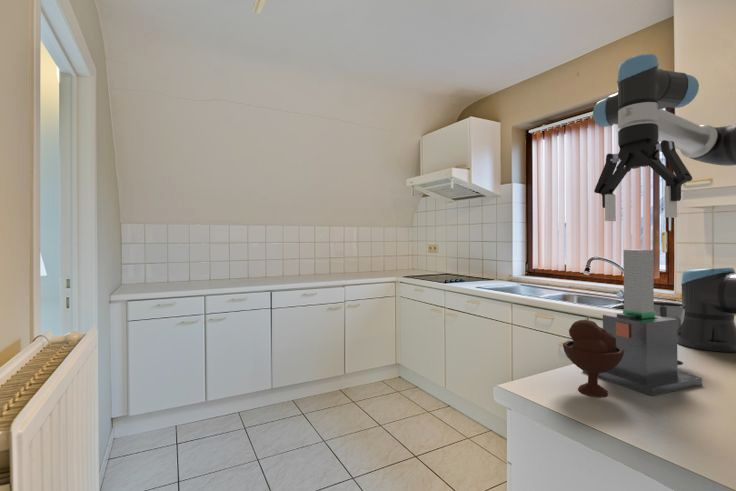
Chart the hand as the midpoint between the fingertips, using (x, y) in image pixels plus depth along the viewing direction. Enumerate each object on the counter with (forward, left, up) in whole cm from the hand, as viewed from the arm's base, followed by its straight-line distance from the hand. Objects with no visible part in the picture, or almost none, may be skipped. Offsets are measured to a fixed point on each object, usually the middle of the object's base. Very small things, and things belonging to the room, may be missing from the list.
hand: (638, 219), depth 87 cm
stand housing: (0, 0, -36) cm, 36 cm away
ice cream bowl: (+17, +2, -37) cm, 40 cm away
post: (0, 0, -28) cm, 28 cm away
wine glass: (-19, -6, -37) cm, 42 cm away
